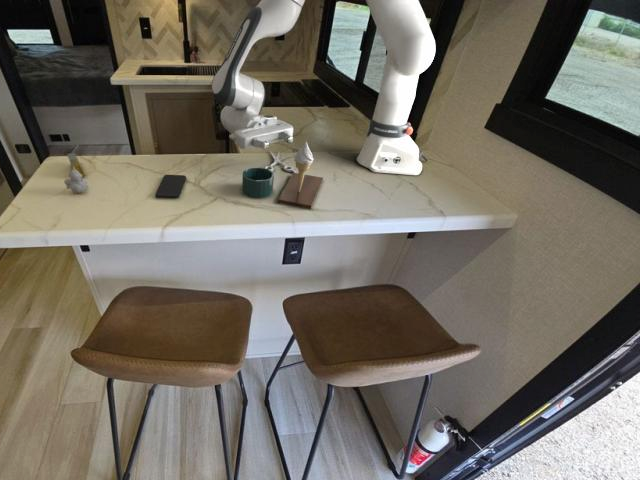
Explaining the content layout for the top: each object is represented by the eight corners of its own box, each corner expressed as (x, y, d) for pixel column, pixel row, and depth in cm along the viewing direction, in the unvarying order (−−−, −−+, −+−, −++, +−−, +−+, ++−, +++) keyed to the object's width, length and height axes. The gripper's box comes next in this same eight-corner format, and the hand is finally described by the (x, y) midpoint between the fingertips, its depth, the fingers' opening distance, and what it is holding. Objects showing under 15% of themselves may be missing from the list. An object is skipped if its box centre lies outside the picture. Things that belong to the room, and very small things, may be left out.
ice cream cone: (286, 189, 105) (292, 138, 94) (302, 186, 107) (309, 136, 96) (295, 197, 101) (302, 145, 91) (311, 194, 103) (320, 143, 92)
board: (322, 180, 112) (323, 177, 112) (310, 209, 99) (311, 205, 98) (293, 176, 115) (293, 172, 114) (277, 203, 101) (278, 199, 100)
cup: (275, 187, 108) (277, 170, 105) (267, 200, 102) (268, 183, 98) (247, 182, 111) (248, 165, 107) (237, 195, 104) (238, 177, 100)
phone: (186, 175, 112) (178, 196, 101) (186, 177, 112) (179, 199, 101) (164, 174, 112) (154, 195, 101) (164, 176, 112) (154, 198, 101)
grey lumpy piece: (87, 196, 102) (78, 170, 96) (65, 196, 102) (55, 170, 96) (92, 187, 106) (84, 162, 100) (70, 187, 106) (61, 162, 100)
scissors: (265, 171, 115) (260, 149, 129) (265, 174, 115) (260, 151, 129) (296, 171, 115) (288, 149, 129) (296, 174, 116) (288, 151, 130)
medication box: (71, 165, 118) (66, 153, 115) (79, 163, 118) (74, 151, 116) (76, 178, 110) (71, 166, 107) (85, 175, 111) (80, 163, 108)
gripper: (226, 124, 105) (251, 138, 97) (278, 114, 113) (305, 126, 105) (226, 145, 110) (250, 160, 101) (276, 134, 118) (302, 147, 110)
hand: (278, 143), depth 103 cm, fingers open, 8 cm apart
